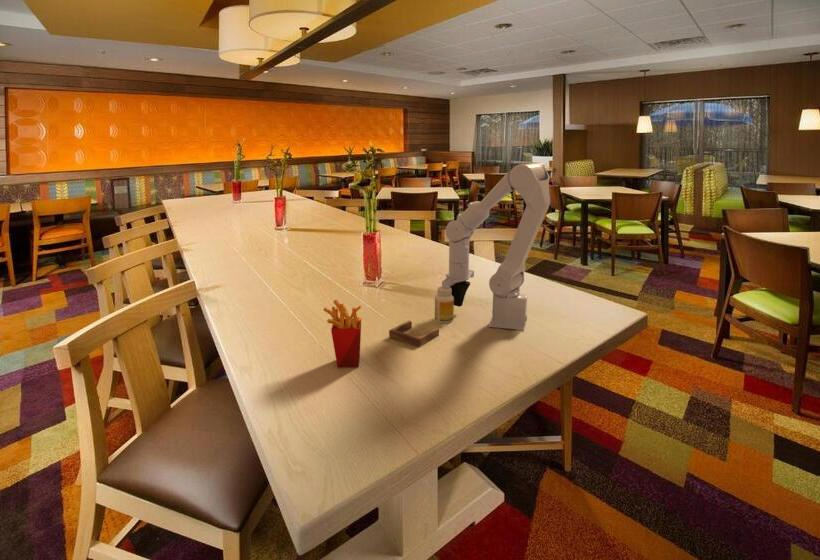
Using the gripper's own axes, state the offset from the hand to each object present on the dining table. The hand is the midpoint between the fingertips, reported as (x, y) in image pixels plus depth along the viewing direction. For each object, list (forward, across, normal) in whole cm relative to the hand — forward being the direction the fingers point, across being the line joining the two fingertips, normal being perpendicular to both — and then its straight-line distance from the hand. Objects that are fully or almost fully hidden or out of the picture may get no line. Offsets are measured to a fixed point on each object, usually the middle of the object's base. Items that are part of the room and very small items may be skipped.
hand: (458, 305), depth 143 cm
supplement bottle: (+2, +8, 0) cm, 8 cm away
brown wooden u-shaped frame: (+2, +22, 0) cm, 22 cm away
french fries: (+2, +44, -4) cm, 44 cm away
